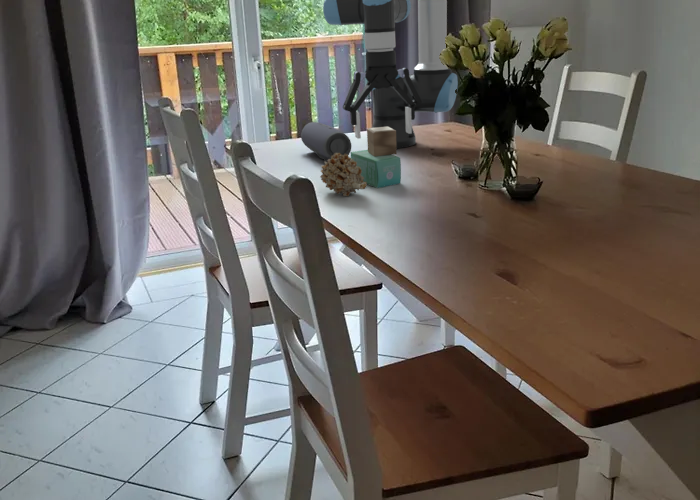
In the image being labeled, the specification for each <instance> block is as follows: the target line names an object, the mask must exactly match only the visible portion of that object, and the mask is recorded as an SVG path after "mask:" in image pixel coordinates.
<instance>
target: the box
mask: <svg viewBox="0 0 700 500" xmlns="http://www.w3.org/2000/svg"><path fill="white" fill-rule="evenodd" d="M350 158H351V159H353V160H354V161H356V162H357V164H356V166H359V167H361V170H362V173H361V176H363V177H364V179H363V182H367V185H369V186H370V187H374V188H376V189H380V188H386V187H389V186H394V185H399V184H401V180H402V179H401V178H402V164H401V157H400V156H398V155H395V154H392V155H382V156H373V155H372V154H370V153H369V152H368V149H363V150H356V151H350Z"/></svg>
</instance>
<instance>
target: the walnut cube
mask: <svg viewBox="0 0 700 500" xmlns="http://www.w3.org/2000/svg"><path fill="white" fill-rule="evenodd" d="M366 136H367V137H366V139H367V142H366V143H367V150H368V152H369V153H370V154H372V155H373V156H382V155H397V153H398V152H397V149H398V148H396V130H394V129H392V128H390V127H388V126H387V127H377V128H372V127H371V128H370V127H368V128H367V129H366Z"/></svg>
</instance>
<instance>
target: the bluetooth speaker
mask: <svg viewBox="0 0 700 500" xmlns="http://www.w3.org/2000/svg"><path fill="white" fill-rule="evenodd" d="M300 140H301V141H302V143H303V144H304V145H305V147H306V148H307V149H309V150H311V152H313V153H315V154H316V155H317V157H318V158H320V159H321V160H323V159H324V161H325V162H328V161H327V160H328V159H331V156H333V155H334V153H340V154H341V155H344V153H345V154H348V156H349V155H350V154H351V152H352V142H351V139H350V138H349V135H347V134H346V133H344V132H343V131H341V130H339V129H337V128H335V127H333V126H331V125H329V124H325V123H322V122H316V121H314V122H313V121H311V122H308V123H307V124H304V126H303V128H302V130H301V134H300Z"/></svg>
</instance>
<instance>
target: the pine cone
mask: <svg viewBox="0 0 700 500" xmlns="http://www.w3.org/2000/svg"><path fill="white" fill-rule="evenodd" d="M356 164H357V162H356V161H354V160H353V159H351V156H349V155H348V154H345V153H344V155H341V154H340V153H334V155H333V156H331V159H328V160H327V161H324V164H322V165H320V167H321V170H320V172H321V175H320V177H319V178H320V180H321V181H322V183H324V184H325V188H327V189H329V190H330V191H332V190H333V192H334V193H335V194H337V195H339V194H342V196H343V197H345V196H346V197H350V194H352V193H354V194H356V193H357V191H360V190H366V188H367V185H368V184H367V182H363V179H364V177H363V176H361V173H362V170H361V167H359V166H356ZM356 190H357V191H356Z"/></svg>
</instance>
